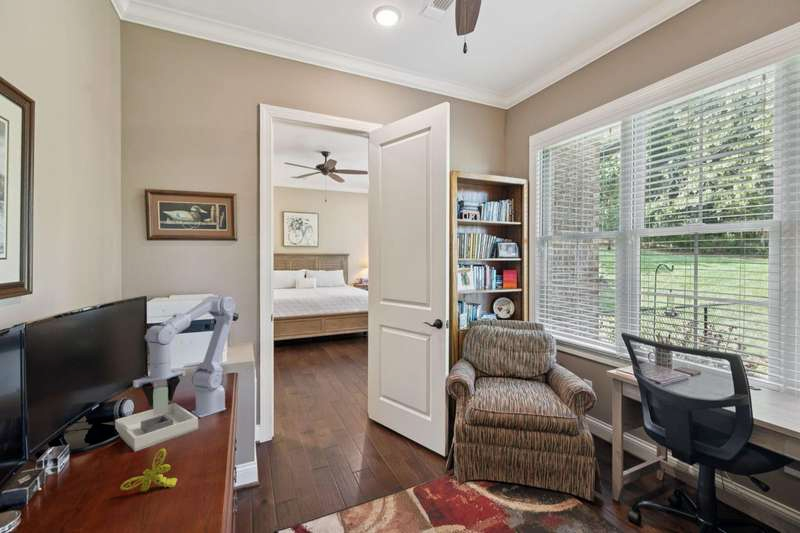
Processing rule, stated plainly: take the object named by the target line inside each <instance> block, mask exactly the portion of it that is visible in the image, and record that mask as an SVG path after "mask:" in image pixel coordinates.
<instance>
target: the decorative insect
mask: <svg viewBox="0 0 800 533" xmlns="http://www.w3.org/2000/svg"><path fill="white" fill-rule="evenodd" d="M162 455H163V456H162ZM166 455H167V451H166V449H165V448H161V449H159V450H158V451H157V452H156V453H155V454H154V458H153V461H152V464H151V469H149V468H146V469H145V470H143V472H142V474H143V475H142V476H135V477H132V478H130V479H127V480H125V481H124V482H123V483H122V484H121V485H120V490H122V491H129V490H131V489H134V488H136V487H138V486H139V485H141V487H140V490H141V491H140V492H145V493H146V492H147V491H149V488H150V486H151V483H152V482H153V483H154V484H156V485H159V486H160V487H164V488H167V487H168V488H170V489H171V488H175V486H176V484H177V481H178V478H176V477H170V478H169V477H168V478H167V476H164V475H163V474H164V473H168V471H170V469H171V464H168V463H167V464H163V462H164V460H165V458H166ZM161 456H162V457H161ZM156 460H157V461H156ZM155 462H156V463H155ZM159 462H160V463H159ZM157 464H158V465H157ZM133 481H135V482H133ZM132 482H133V484H131V483H132ZM128 486H129V487H128Z"/></svg>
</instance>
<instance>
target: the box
mask: <svg viewBox="0 0 800 533" xmlns="http://www.w3.org/2000/svg"><path fill="white" fill-rule="evenodd" d="M114 422H115V425H114V427H115V429H116V430H117V432H118V433H119V435H120V436H119V435H118V436H119V437H120V438H121V439H122V440H123V441H124V442H125V443H126V444H127V445H128V446H129V448H130V449H132V451H133V452H138V451H141V450H144V449H146V448H149V447H152V446H154V445H158V444H159V443H160V444H161V443H163V442H165V441H169V440H171V439H175V438H178V437H180V436H182V435H185V434H188V433H192V432H194V431H196V430H198V429H199V417H198V416H197V415H195V414H193V413H192V412H190V411H188V410H187V409H185V408H184V407H182V406H180V405H179V404H177V403H176V402H173V403H170V404H169V403H168V412H167V413H162V414H157V415H153V408H151V409H148V410H145V411H142V412H138V413H134V414H131V415H128V416H124V417H120V418H117V419H115V420H114ZM115 429H114V430H115Z"/></svg>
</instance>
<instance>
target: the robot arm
mask: <svg viewBox="0 0 800 533" xmlns="http://www.w3.org/2000/svg"><path fill="white" fill-rule="evenodd" d="M235 310H236V303H235V301H234V299H233V298H232V297H231V296H215V295H210V296H208V297H205V298H204V299H202V301H201V302H199V303H198V304H197V305H195V306H194V307H192V308H191V309H190V310H188V311H186V312H185V313H181V312H180V313H174V314H172V315H173V316H171V318H169V319H167V320H166V321H162V322H161V323H160V324H159V325H153V326H151V327H150V328H149V329H147V331H146V334H145V335H144V339H145V341H146V342H147V344H148V348H149V375H147V376H143V377H141V378H137V379H134V380H132V386H133V388H139V387H140V388H141V390H142V391H143V393H144V395H145V398H146V399H147V402H148V406H150V407H153V391H154V387H155V386H153V384H155V383H159V382H163V381H166V385H168V402H169V401H170V402H171V401H173V400H174V395H175V392H176V389H177V388H178V386H179V383H180V382H181V378H179V377H186V369H178V370H171V343H172V342H173V340H174V339H175V337H176V335H179V334H180V333H181V332H183V331H184V330H186V329H188V328H189V327H190V326H191V322H192V321H194V320H196V319H198V318H200V317H201V316H203V315H205V314H207V313H208V314H210V315H211V316H212V317H213V318H214V320H215V321H216V322H215V325H214V328H213V331H212V335H211V338H210V341H209V343H208V346H207V348H206V349H207V350H206V353H205V356H204V358H203V361H201V363H199V364H198V365H197V366H196V368H195V370H194V371H193V373H192V375H191V377H190V383H191V385H192V387H194V389H193V390H195V409H193V410H191V413H192V414H193V415H195V416H196V417H198V418H201V419H202V418H205V417H208V416H210V415H214V414H216V413H221V412H222V411H225V410H227V408H226V391H225V389H224V386H223V385H221V383H222V381H223V371H224V369H223V367H221V365H220V362H221V358H222V355H223V353H224V349H225V346H226V343H227V339H228V336H229V333H230V331H231V330H230V329H231V326H232V323H233V320H234V319H233V318H234V313H235Z"/></svg>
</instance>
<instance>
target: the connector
mask: <svg viewBox="0 0 800 533" xmlns="http://www.w3.org/2000/svg"><path fill="white" fill-rule="evenodd" d="M153 387H154V391H153V406H152V407H153V408H152V409H153V415H157V414H162V413H167V412H168V405H169V400H168V385H167V384H164V385H163V384H162V385H158V386H153Z"/></svg>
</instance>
